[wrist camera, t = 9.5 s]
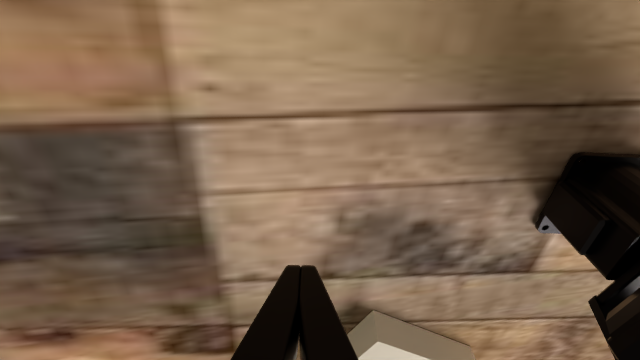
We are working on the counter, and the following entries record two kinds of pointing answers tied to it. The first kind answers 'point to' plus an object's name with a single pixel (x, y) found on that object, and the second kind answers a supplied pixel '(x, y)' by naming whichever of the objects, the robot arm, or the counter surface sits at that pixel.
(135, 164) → the counter surface
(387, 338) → the door block
